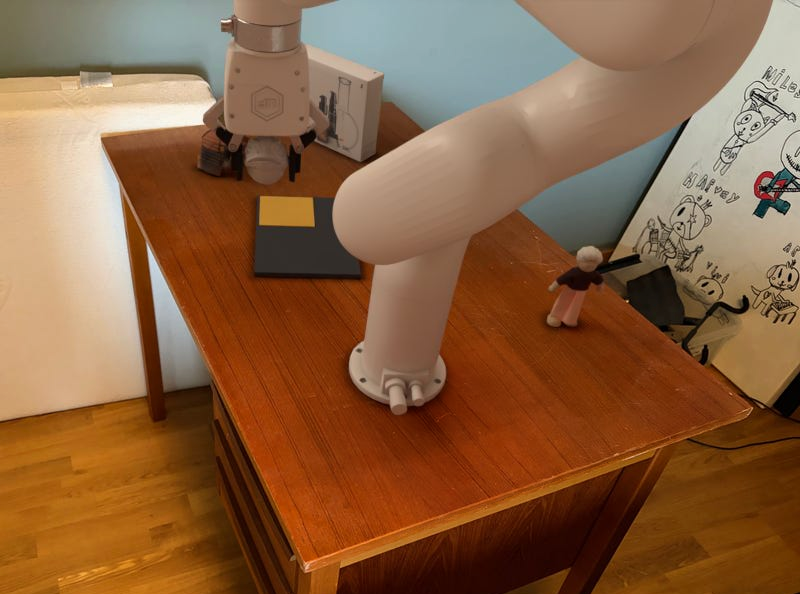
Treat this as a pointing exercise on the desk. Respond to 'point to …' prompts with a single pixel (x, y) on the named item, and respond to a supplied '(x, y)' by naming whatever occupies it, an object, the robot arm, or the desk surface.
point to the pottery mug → (216, 154)
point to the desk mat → (300, 240)
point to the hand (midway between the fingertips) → (265, 175)
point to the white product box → (345, 102)
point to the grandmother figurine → (575, 287)
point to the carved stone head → (266, 159)
